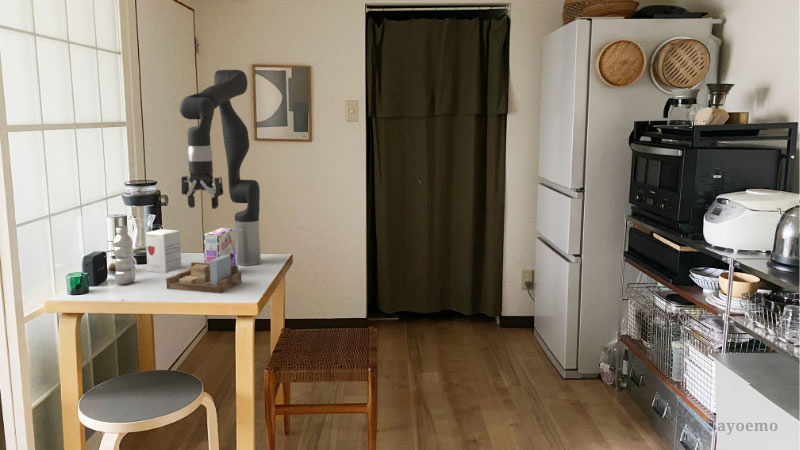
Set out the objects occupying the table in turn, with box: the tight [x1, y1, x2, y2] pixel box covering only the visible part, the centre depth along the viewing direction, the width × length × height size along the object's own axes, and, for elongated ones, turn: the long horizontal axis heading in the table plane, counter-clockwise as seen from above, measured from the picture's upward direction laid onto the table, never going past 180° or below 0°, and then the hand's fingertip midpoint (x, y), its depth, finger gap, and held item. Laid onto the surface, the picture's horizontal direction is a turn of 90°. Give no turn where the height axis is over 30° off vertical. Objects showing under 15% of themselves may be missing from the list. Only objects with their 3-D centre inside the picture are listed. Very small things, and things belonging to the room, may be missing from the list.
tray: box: [165, 261, 242, 294], centre depth 219 cm, size 14×20×7 cm
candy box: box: [203, 227, 237, 265], centre depth 238 cm, size 14×6×16 cm, turn 168°
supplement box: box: [145, 228, 182, 274], centre depth 244 cm, size 9×9×15 cm
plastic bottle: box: [112, 225, 136, 285], centre depth 224 cm, size 6×7×20 cm
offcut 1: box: [179, 276, 199, 284], centre depth 217 cm, size 4×5×3 cm
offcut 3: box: [189, 274, 211, 285], centre depth 222 cm, size 5×6×3 cm
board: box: [210, 255, 231, 286], centre depth 217 cm, size 9×2×10 cm, turn 165°
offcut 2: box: [189, 264, 210, 276], centre depth 222 cm, size 4×5×3 cm
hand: (203, 207), depth 215 cm, fingers open, 8 cm apart
